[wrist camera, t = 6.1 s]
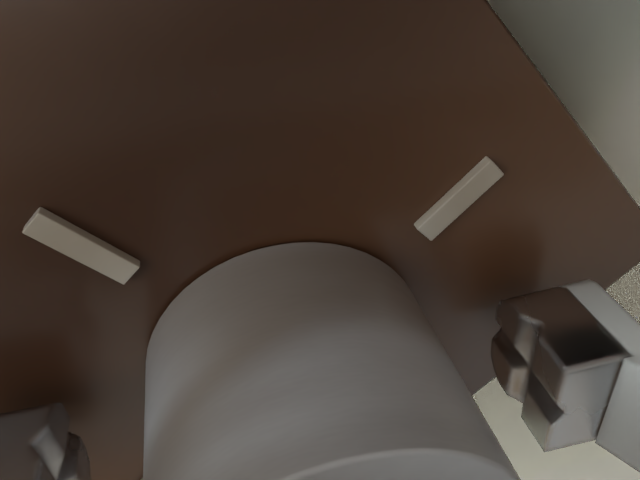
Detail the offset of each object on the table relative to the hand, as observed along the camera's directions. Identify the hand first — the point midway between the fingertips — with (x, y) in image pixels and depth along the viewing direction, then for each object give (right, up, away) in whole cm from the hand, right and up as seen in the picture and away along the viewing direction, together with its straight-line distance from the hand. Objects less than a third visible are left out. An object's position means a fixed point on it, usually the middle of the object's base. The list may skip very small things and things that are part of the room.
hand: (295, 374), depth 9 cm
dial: (0, 0, 0) cm, 0 cm away
